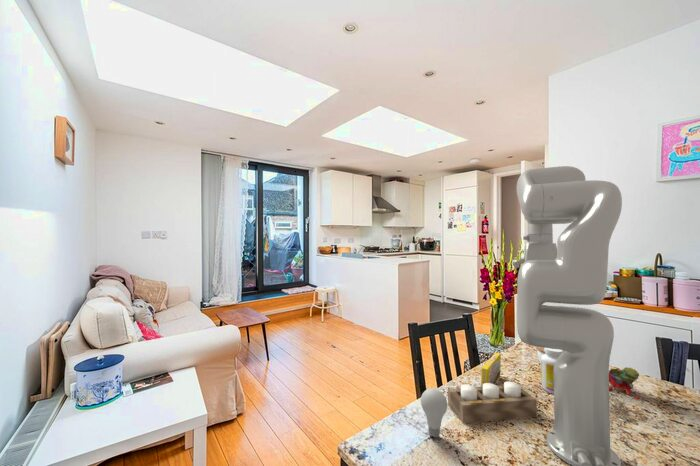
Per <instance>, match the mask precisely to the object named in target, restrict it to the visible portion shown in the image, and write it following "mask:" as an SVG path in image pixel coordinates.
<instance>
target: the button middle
mask: <svg viewBox="0 0 700 466" xmlns="http://www.w3.org/2000/svg"><path fill="white" fill-rule="evenodd" d="M483 396H484V397H485V398H487V399H488V400H491V399H499V387H498V386H497V385H496V384H495V385H494V384H491V383H484V384H483Z"/></svg>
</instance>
